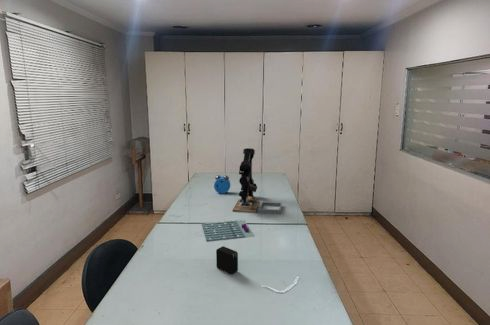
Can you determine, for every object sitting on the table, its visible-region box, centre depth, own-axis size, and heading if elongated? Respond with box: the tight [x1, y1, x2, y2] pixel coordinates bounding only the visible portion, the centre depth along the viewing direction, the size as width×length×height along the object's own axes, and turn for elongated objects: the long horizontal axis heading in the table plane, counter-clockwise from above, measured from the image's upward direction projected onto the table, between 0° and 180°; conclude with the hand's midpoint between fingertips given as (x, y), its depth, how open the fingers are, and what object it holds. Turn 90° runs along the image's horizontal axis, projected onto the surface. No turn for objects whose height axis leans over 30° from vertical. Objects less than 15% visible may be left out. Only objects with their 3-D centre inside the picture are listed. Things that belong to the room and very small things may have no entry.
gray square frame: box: [258, 201, 283, 214], centre depth 236 cm, size 16×15×2 cm
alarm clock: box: [213, 175, 232, 195], centre depth 272 cm, size 13×6×15 cm, turn 86°
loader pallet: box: [232, 195, 260, 214], centre depth 241 cm, size 24×16×4 cm, turn 171°
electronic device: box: [215, 245, 239, 275], centre depth 155 cm, size 4×10×10 cm, turn 51°
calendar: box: [201, 219, 255, 242], centre depth 202 cm, size 27×28×2 cm
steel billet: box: [242, 195, 249, 206], centre depth 236 cm, size 4×4×8 cm
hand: (245, 202), depth 236 cm, fingers closed on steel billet, 4 cm apart
